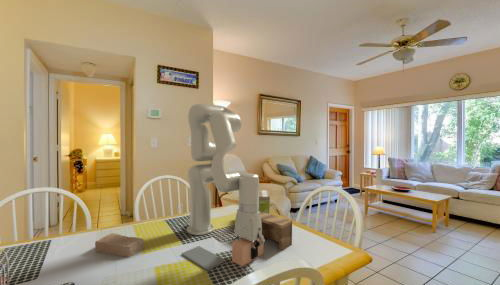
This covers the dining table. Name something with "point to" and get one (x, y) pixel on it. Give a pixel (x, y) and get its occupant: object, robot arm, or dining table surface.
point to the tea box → (264, 201)
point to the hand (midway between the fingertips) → (248, 254)
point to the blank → (244, 251)
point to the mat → (203, 258)
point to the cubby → (277, 229)
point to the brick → (119, 245)
